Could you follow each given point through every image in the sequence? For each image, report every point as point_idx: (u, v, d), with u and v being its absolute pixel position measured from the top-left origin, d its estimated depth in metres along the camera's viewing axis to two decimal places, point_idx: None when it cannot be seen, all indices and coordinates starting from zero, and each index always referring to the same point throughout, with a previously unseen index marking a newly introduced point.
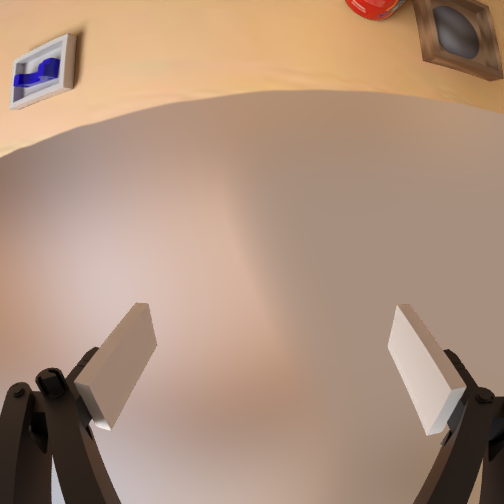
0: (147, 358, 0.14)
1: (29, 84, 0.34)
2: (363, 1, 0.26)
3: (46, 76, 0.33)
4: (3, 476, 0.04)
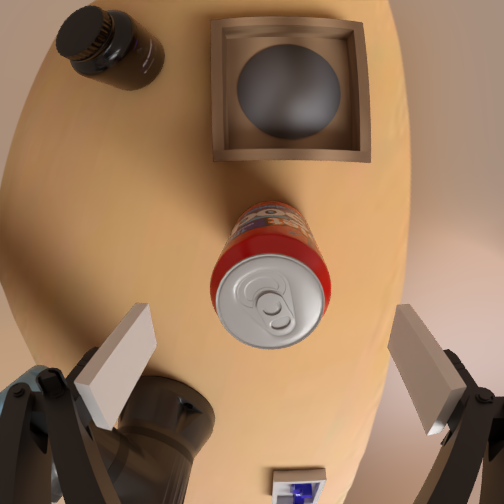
0: (147, 358, 0.14)
1: None
2: None
3: (311, 490, 0.44)
4: (2, 475, 0.04)
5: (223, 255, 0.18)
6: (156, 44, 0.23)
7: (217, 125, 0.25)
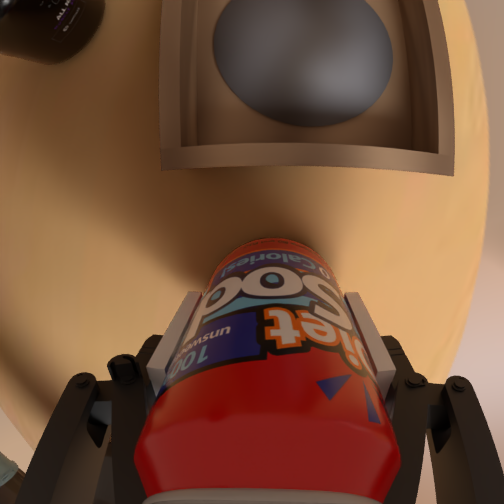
0: None
1: None
2: None
3: None
4: (47, 468, 0.05)
5: (146, 439, 0.06)
6: None
7: (168, 101, 0.12)
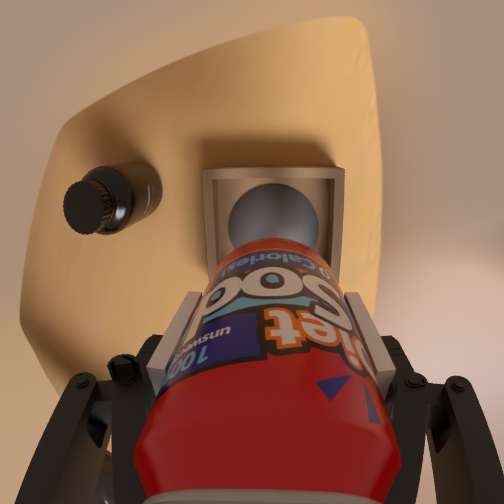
0: None
1: None
2: None
3: None
4: (47, 468, 0.05)
5: (146, 440, 0.06)
6: (153, 185, 0.31)
7: (212, 272, 0.32)
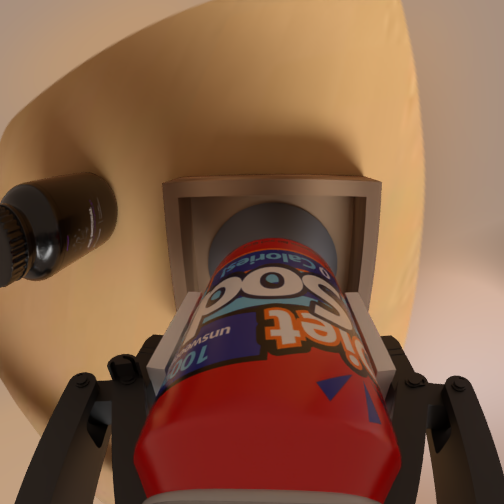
0: None
1: None
2: None
3: None
4: (47, 468, 0.05)
5: (146, 440, 0.06)
6: (100, 205, 0.20)
7: None
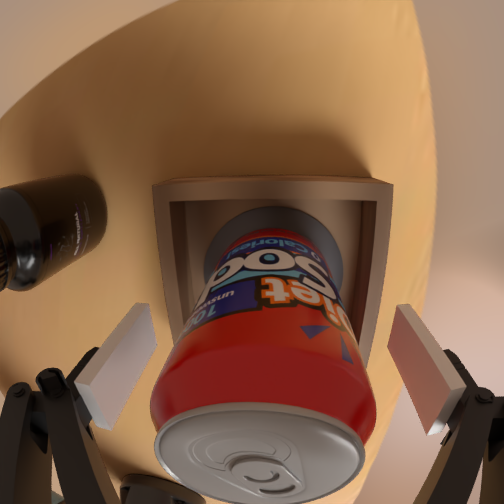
0: (147, 358, 0.14)
1: None
2: None
3: None
4: (3, 476, 0.04)
5: (165, 375, 0.08)
6: (88, 209, 0.19)
7: None
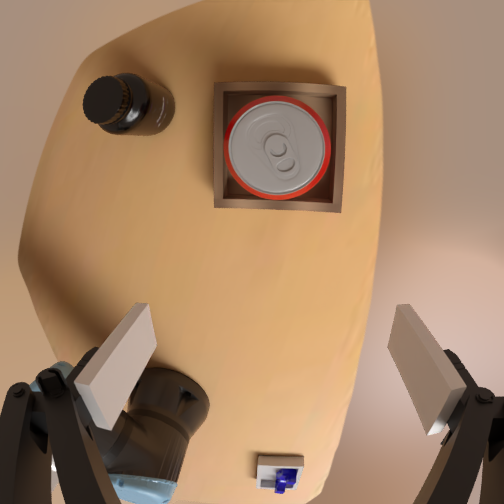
0: (147, 358, 0.14)
1: (286, 483, 0.56)
2: None
3: (295, 478, 0.53)
4: (3, 476, 0.04)
5: (237, 112, 0.20)
6: (167, 99, 0.30)
7: (217, 179, 0.32)
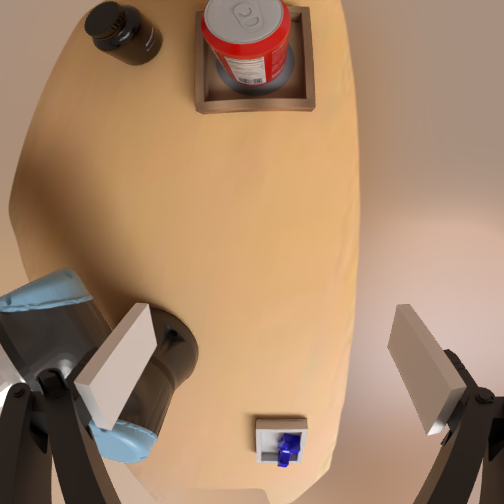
0: (147, 358, 0.14)
1: None
2: (280, 65, 0.28)
3: (299, 446, 0.51)
4: (3, 475, 0.04)
5: None
6: (156, 30, 0.30)
7: (199, 85, 0.31)
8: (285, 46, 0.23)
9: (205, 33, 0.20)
